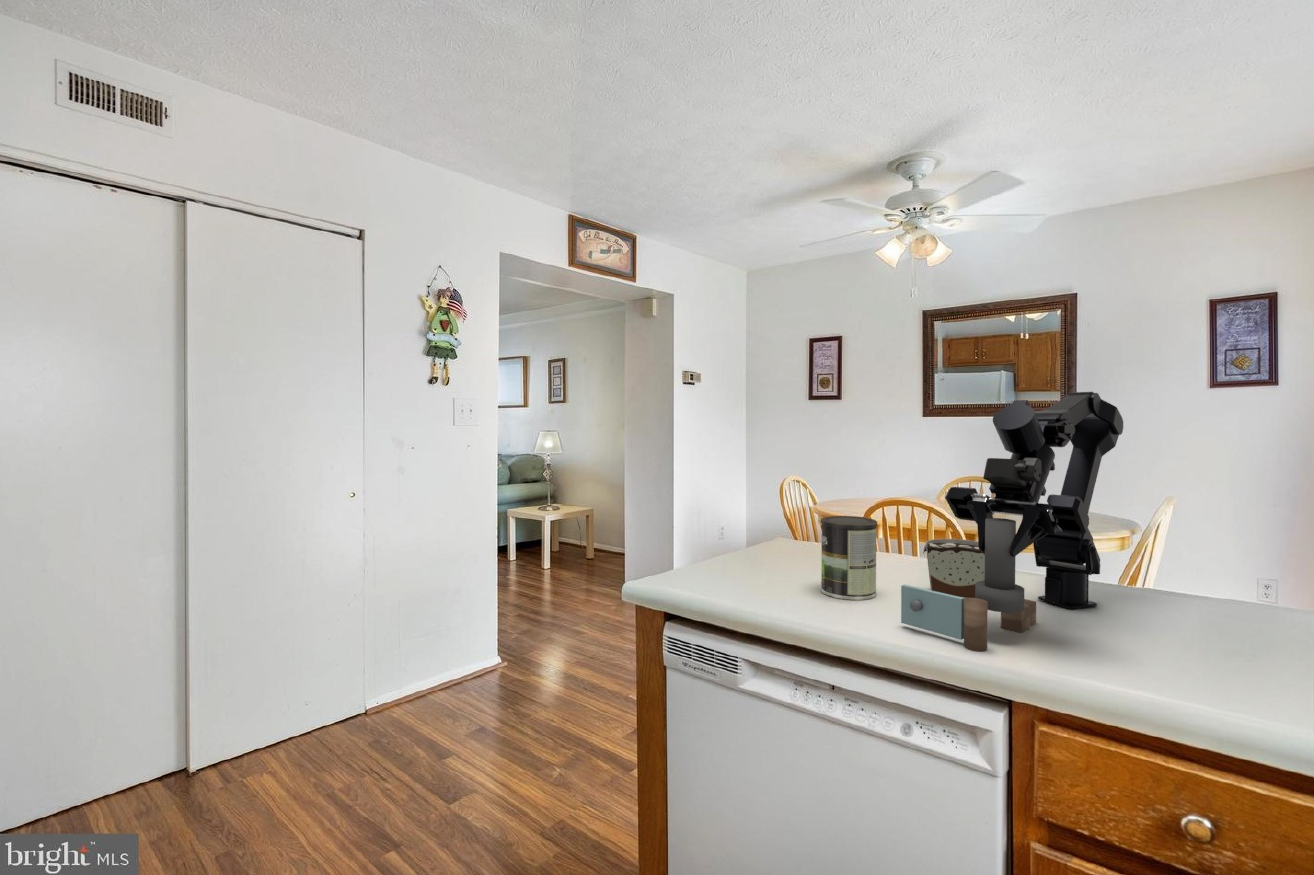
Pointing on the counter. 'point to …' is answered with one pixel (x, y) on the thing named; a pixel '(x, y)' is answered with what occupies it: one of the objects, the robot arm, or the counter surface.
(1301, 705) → the counter surface
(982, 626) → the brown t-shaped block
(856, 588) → the coffee can
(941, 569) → the food container
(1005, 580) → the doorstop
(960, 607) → the door
